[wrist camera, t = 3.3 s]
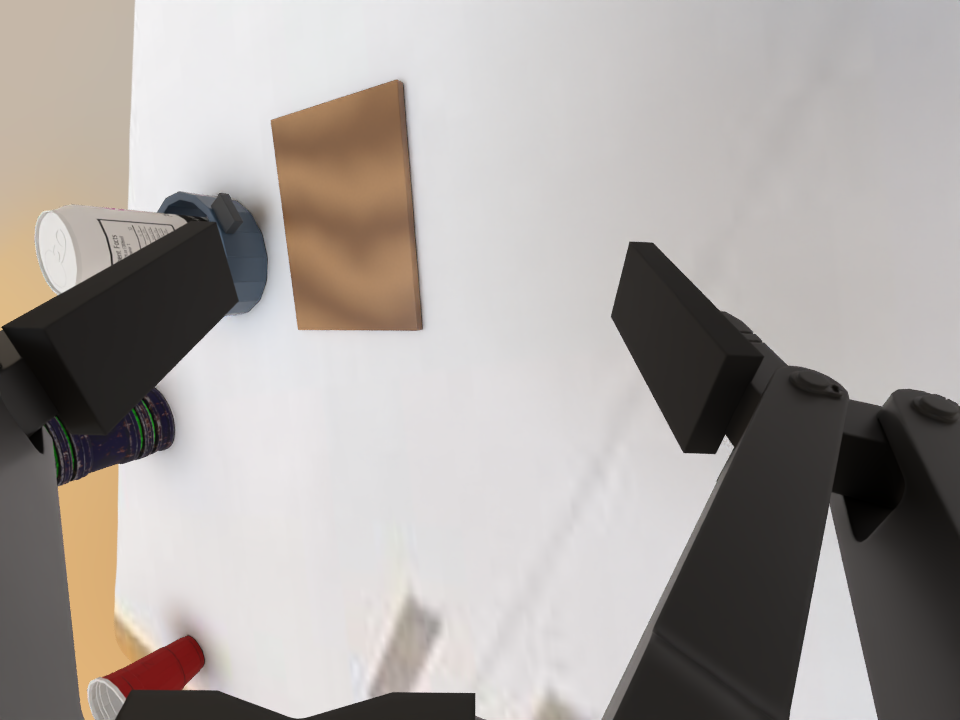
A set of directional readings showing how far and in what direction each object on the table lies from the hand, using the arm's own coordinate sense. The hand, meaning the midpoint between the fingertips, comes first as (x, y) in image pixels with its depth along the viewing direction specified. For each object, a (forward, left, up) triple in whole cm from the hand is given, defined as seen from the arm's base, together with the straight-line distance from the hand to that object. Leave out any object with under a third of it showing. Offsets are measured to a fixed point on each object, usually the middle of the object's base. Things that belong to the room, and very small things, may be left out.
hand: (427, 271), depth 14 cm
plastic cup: (+57, -64, -20) cm, 88 cm away
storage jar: (+17, -62, -20) cm, 68 cm away
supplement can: (-4, -40, -20) cm, 45 cm away
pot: (-4, -40, -20) cm, 44 cm away
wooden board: (-6, -22, -20) cm, 30 cm away
